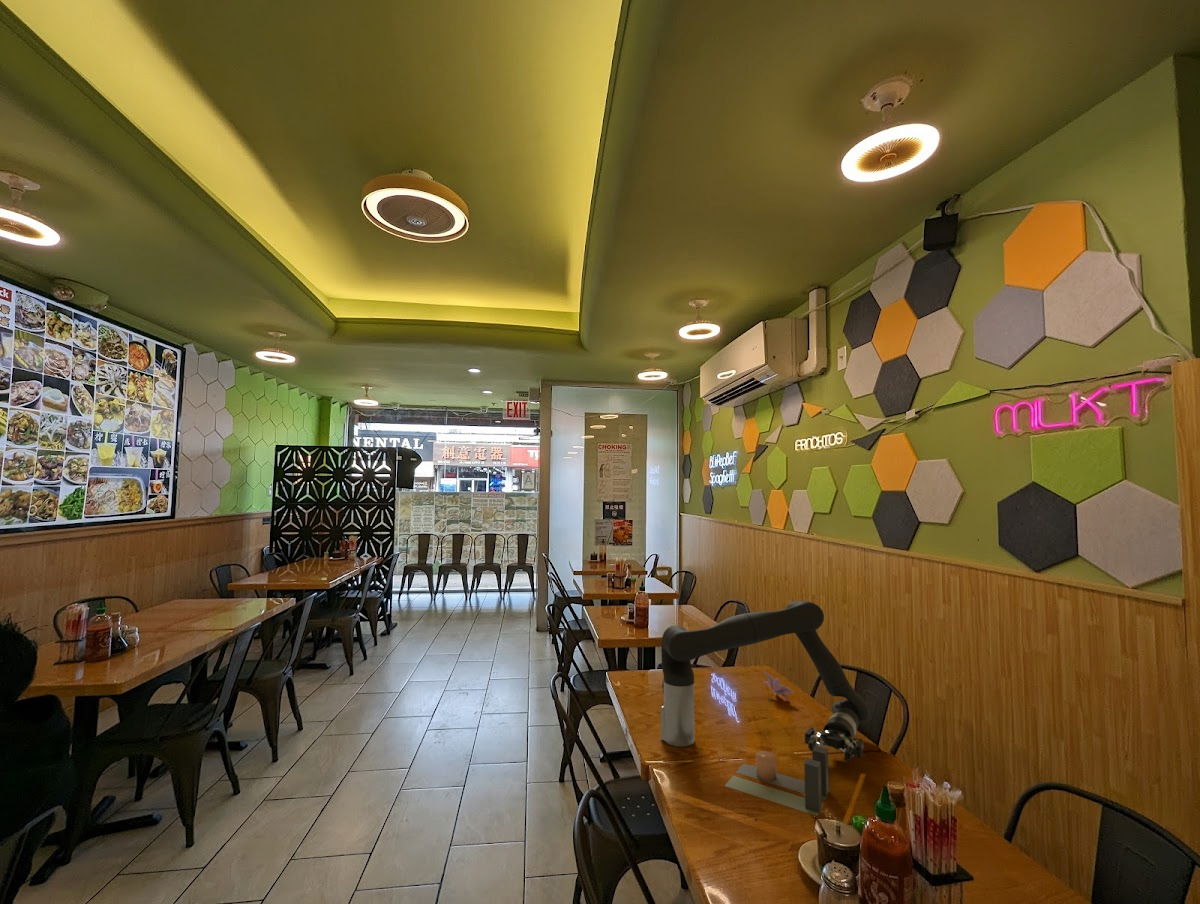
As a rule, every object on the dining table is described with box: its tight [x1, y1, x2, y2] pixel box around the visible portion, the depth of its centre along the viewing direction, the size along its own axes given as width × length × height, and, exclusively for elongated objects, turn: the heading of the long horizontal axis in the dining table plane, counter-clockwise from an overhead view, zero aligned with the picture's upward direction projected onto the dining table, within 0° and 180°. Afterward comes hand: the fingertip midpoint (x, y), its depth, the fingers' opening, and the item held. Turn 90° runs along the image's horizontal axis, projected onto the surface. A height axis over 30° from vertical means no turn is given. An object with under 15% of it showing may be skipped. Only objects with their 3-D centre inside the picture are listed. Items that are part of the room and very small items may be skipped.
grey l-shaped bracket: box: [735, 746, 831, 801], centre depth 137 cm, size 22×6×11 cm, turn 56°
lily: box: [763, 670, 795, 703], centre depth 195 cm, size 12×12×10 cm
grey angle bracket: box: [724, 757, 824, 817], centre depth 130 cm, size 22×6×11 cm, turn 56°
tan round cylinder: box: [755, 750, 777, 781], centre depth 139 cm, size 5×5×5 cm
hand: (828, 751), depth 140 cm, fingers open, 8 cm apart
